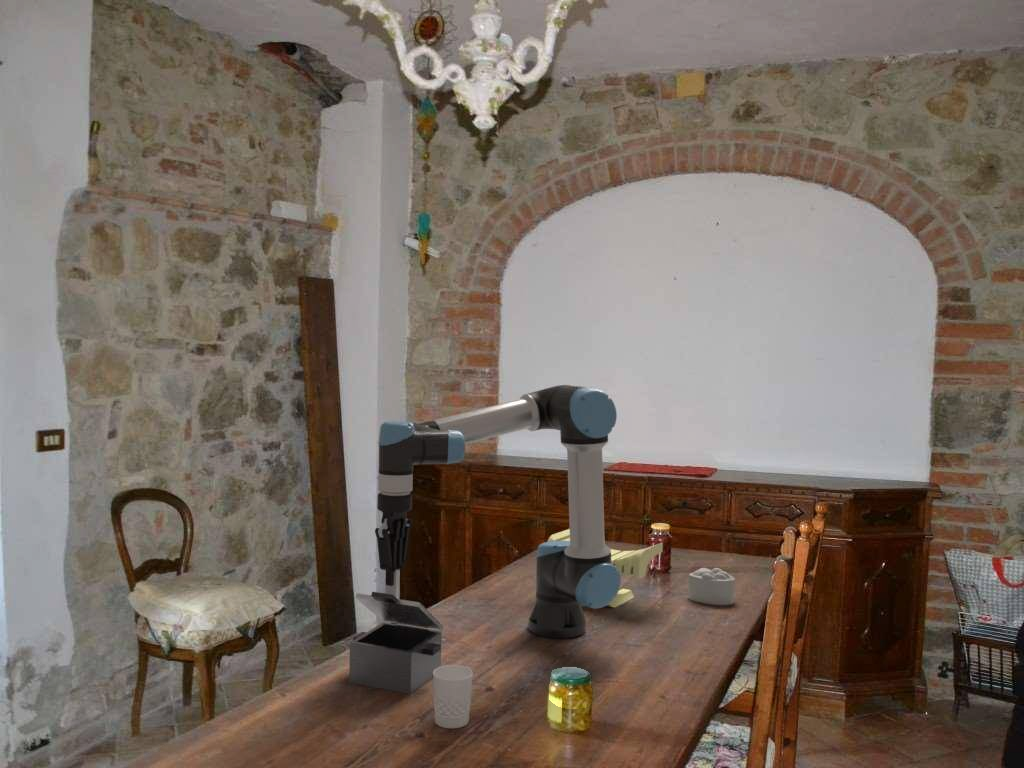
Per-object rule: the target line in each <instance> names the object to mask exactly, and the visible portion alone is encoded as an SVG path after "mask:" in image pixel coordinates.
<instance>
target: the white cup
mask: <svg viewBox="0 0 1024 768" xmlns="http://www.w3.org/2000/svg"><path fill="white" fill-rule="evenodd" d="M473 676H474V672H473V670H472V669H471V668H469V667H467V666H465V665H461V664H460V665H459V664H448V665H447V664H446V665H441V667H438V668H436V669H435V670H434V671H433V677H432V682H433V683H432V687H433V689H432V690H433V692H432V693H433V708H434V723H435V725H437V726H438V727H441V728H444V729H460V728H462V727H465V726H466V725H468V724H469V720H470V710H471V703H472V689H473V679H474V678H473Z"/></svg>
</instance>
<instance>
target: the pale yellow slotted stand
mask: <svg viewBox="0 0 1024 768" xmlns="http://www.w3.org/2000/svg"><path fill="white" fill-rule="evenodd" d="M552 541H570V528H568V529H565V530H562V531H559V532H555V533H553V534H551V535H550V536H549V537H548V539H547V541H546V542H552ZM663 546H664V542H663V541H662V542H660V543H658V544H655V545H652V546H649V547H646V548H641V549H638V550H634V549H633V550H623V551H622V550H617V549H612V548H610V549H611V564H612V565H614V566H615V567H616V569H617V570H618V571H619V573H620V576H621V575H624V576H629V577H630V576H632V578H635V579H636V580H641V579H643V578H644V577H646V572H647V569H648V566H649V563H650V562H651V561H652V559H654V558H655V557H656V556H658V555H659V554H660V553H662V552H663V548H664V547H663ZM634 598H635V596H634V594H633V591H632V589H627V588H620V589H619V591H618V593H617V595H616V597H614V598H613V600H612V601H611V602H610V603H609V604H608V605H606V606H605V607H611V608H617V607H619V606H621V605H622V604H624V603H626V602H628V601H630V600H631V599H634Z"/></svg>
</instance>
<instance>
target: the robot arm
mask: <svg viewBox="0 0 1024 768" xmlns="http://www.w3.org/2000/svg"><path fill="white" fill-rule="evenodd" d="M617 417H618V416H617V408H616V405H615V403H614V401H613V399H612V398H611V396H609V395H608V394H607V392H605V391H603V390H601V389H597V388H595V387H592V386H578V385H570V384H569V385H568V384H562V385H561V384H560V385H559V384H558V385H554V386H551V387H547V388H543V389H539V390H537V391H533V392H527V393H525V394H523V395H521V396H520V398H519V399H517V400H513V401H509V402H504V403H499V404H496V405H492V406H487V407H482V408H479V409H474V410H471V411H470V410H469V411H466V412H462V413H457V414H453V415H449V416H445V417H441V418H437V419H433V420H429V421H424V422H420V423H419V422H418V423H416V422H411V421H396V420H395V421H393V420H392V421H391V420H390V421H385V422H383V423H382V424H381V425H380V429H379V434H378V436H379V437H378V476H377V481H378V483H377V484H378V485H377V490H378V494H377V503H376V505H377V510H378V511H379V512H381V513H382V516H381V517H382V518H381V525H380V527H375V529H374V534H375V536H376V538H377V539H376V541H377V542H376V543H377V549H378V550H377V552H378V563H379V569H380V570H384V571H385V580H384V583H385V586H384V593H385V594H392V595H394V596H395V597H396V598H397V599H400V577H401V575H400V574H401V573H400V571H401V570H404V569H405V564H406V561H407V554H408V547H409V541H410V531H411V528H412V524H413V520H412V519H408V518H407V515H408V514H407V513H408V512H410V511H411V510H412V509H413V495H412V493H411V492H412V491H413V488H414V487H413V486H414V485H413V482H414V481H413V479H414V478H413V477H414V466H415V465H416V466H418V465H449V464H450V465H451V464H456V463H460V462H461V461H462V460H463V459H464V457H465V454H466V445H467V444H471V443H475V442H479V441H483V440H487V439H491V438H495V437H499V436H503V435H507V434H511V433H515V432H519V431H523V430H528V431H530V432H536V431H540V430H556V431H559V433H560V444H561V445H562V446H563V447H564V448H565V449H566V451H567V452H566V453H567V454H566V456H567V485H568V489H567V490H568V492H567V493H568V518H569V519H568V520H569V521H568V522H569V523H568V524H569V529H570V541H552V542H547V541H545V542H543V543H539V545H538V546H537V551H536V557H535V559H536V574H535V575H536V576H535V579H536V581H535V584H536V585H535V599H534V603H533V605H532V608H531V611H530V614H529V617H528V625H527V626H528V630H529V631H530V632H531V633H533V634H535V635H538V636H540V637H545V638H553V639H569V638H575V637H578V636H581V635H583V634H584V633H586V630H587V621H586V617H585V612H584V610H583V607H587V608H591V609H601V608H605V607H607V606H606V605H608V604H609V603H610V602H611V601H612V600H613V598H614V597H616V595H617V593H618V591H619V589H620V590H621V584H622V582H621V581H622V578H621V575H620V573H619V571H618V570H617V569H616V567H615V566H614V565H612V564H611V549H612V548H610V547H609V546H608V545H606V543H605V542H606V541H605V539H606V538H605V509H604V507H605V506H604V505H605V504H604V502H605V501H604V473H603V471H604V470H603V467H604V466H603V465H604V464H603V448H604V447H605V446H606V445H607V444H608V443H609V435H610V433H612V431H613V428H615V425H616V422H617ZM582 606H583V607H582Z"/></svg>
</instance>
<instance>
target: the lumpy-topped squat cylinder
mask: <svg viewBox="0 0 1024 768" xmlns="http://www.w3.org/2000/svg"><path fill="white" fill-rule="evenodd" d="M735 587H736V579H735V577H734V576H733V575H730V574H729V573H728V572H726V571H723V570H722V569H721V568H719V567H714V568H712V569H710V568H707V567H701V568H699V569H697V570H695V571H693V572H690V573H689V574H688V589H687V590H688V596H687V598H688V599H689V600H691V601H693V602H698V603H702V604H707V605H713V606H716V605H717V606H729V605H733V604H735Z"/></svg>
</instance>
